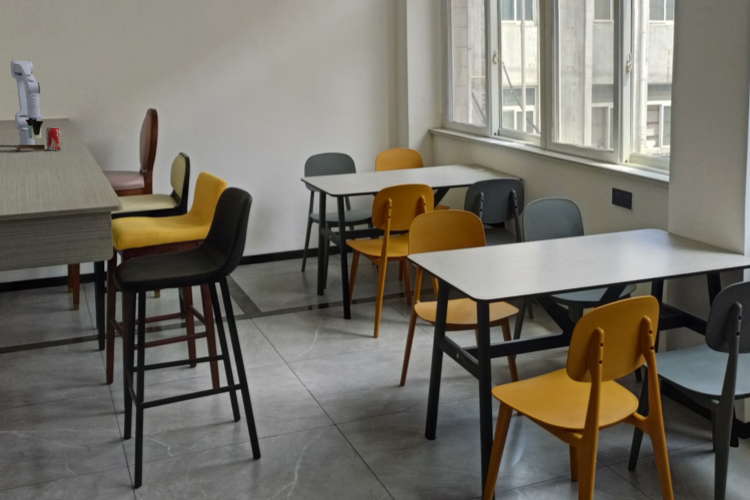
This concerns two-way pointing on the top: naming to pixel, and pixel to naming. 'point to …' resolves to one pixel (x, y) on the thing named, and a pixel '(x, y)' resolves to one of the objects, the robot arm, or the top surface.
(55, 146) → the soda can
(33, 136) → the block
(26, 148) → the tray
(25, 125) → the robot arm
